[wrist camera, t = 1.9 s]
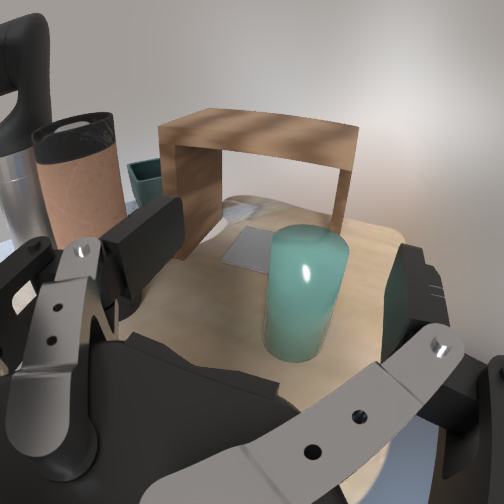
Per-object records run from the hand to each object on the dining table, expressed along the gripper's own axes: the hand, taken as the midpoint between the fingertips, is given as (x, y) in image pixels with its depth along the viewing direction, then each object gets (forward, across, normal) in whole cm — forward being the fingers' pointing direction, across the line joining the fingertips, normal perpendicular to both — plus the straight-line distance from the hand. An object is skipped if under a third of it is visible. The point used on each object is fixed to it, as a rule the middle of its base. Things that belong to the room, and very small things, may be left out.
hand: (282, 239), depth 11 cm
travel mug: (+8, +20, +18) cm, 28 cm away
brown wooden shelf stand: (+24, +8, +18) cm, 31 cm away
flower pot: (+26, +24, +18) cm, 40 cm away
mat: (+24, +7, +18) cm, 31 cm away
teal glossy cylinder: (+11, 0, +18) cm, 21 cm away
